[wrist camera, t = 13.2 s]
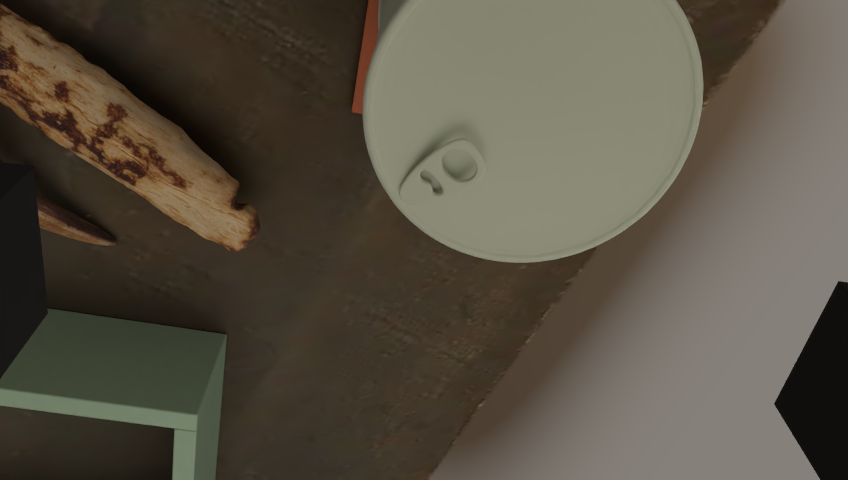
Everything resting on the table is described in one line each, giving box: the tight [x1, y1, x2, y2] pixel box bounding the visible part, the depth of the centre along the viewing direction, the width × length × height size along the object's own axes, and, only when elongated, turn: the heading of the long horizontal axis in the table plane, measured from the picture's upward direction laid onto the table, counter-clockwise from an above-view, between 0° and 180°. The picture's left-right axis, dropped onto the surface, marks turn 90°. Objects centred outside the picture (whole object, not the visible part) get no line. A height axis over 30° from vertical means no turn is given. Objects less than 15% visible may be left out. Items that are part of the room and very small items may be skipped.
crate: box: [0, 308, 227, 480], centre depth 38 cm, size 14×19×6 cm
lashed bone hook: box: [0, 3, 260, 251], centre depth 31 cm, size 9×5×18 cm
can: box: [363, 0, 703, 262], centre depth 25 cm, size 9×9×12 cm
